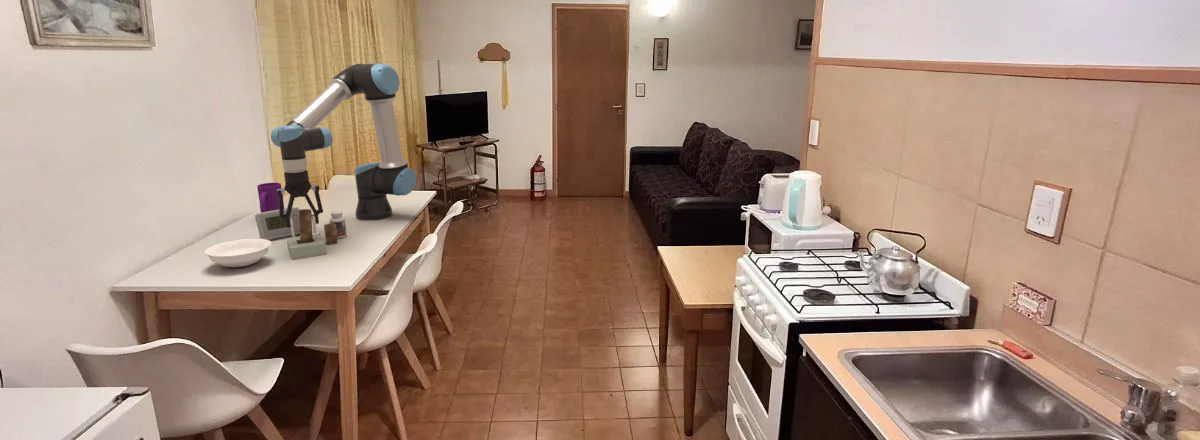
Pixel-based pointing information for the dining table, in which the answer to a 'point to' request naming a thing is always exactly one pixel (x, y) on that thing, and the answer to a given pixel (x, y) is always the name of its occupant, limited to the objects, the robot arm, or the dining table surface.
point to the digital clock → (277, 224)
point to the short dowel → (330, 233)
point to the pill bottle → (339, 224)
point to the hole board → (306, 247)
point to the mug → (269, 196)
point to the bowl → (238, 252)
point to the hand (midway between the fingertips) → (304, 234)
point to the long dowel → (305, 226)
